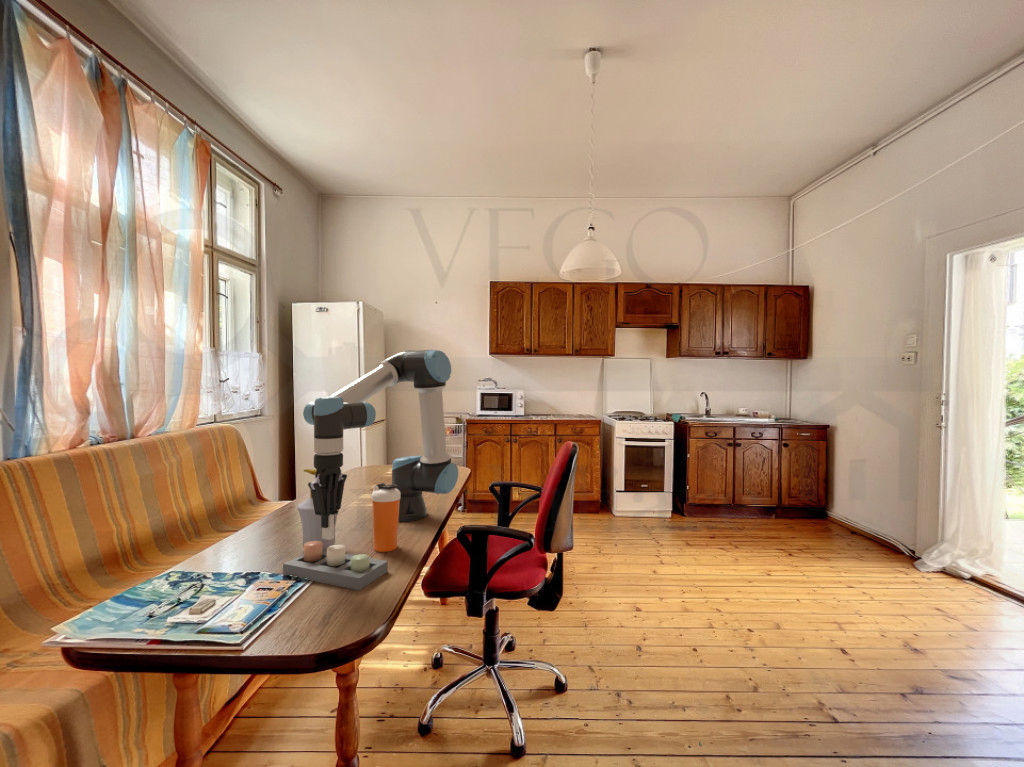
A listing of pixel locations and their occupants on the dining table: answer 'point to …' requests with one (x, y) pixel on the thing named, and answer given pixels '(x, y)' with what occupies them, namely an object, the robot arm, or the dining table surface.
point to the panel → (335, 571)
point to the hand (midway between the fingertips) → (327, 538)
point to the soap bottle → (313, 521)
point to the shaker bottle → (385, 516)
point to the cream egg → (335, 555)
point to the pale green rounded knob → (360, 563)
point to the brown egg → (312, 551)
